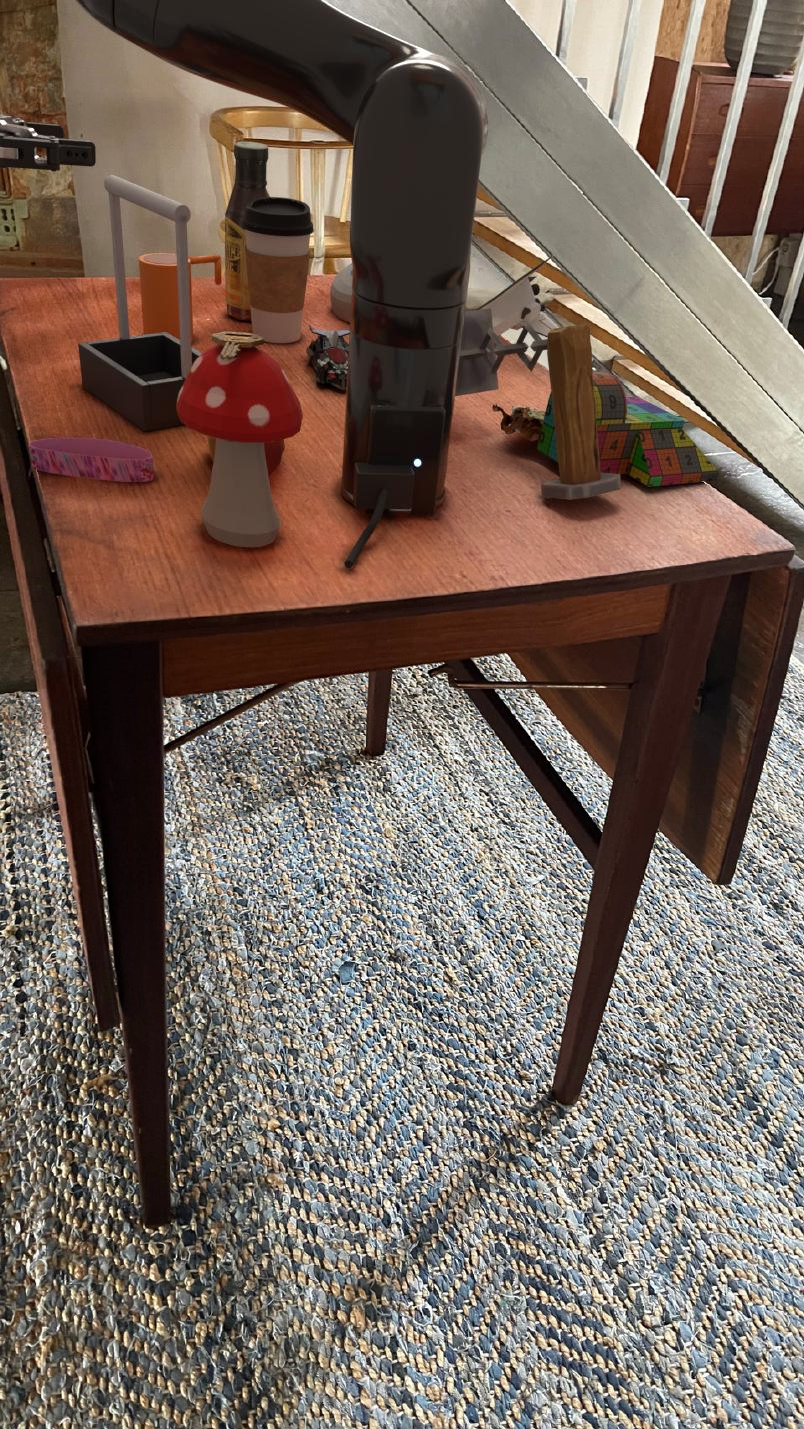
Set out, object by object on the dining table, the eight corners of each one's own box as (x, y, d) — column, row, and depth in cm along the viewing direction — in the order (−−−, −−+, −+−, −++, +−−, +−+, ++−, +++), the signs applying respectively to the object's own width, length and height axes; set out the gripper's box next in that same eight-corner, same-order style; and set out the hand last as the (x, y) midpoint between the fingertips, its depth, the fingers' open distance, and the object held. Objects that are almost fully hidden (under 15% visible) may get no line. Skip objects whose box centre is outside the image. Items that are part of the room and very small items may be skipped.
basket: (234, 415, 104) (231, 202, 92) (144, 431, 99) (129, 207, 87) (168, 373, 112) (158, 173, 101) (82, 386, 107) (60, 176, 95)
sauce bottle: (221, 309, 134) (218, 137, 122) (268, 309, 136) (270, 140, 124) (230, 324, 129) (228, 146, 117) (279, 324, 131) (281, 149, 119)
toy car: (353, 359, 122) (355, 324, 120) (370, 394, 113) (373, 356, 110) (302, 358, 121) (303, 322, 118) (316, 393, 111) (317, 355, 109)
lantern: (380, 492, 112) (572, 501, 89) (358, 328, 107) (557, 291, 83) (436, 480, 116) (634, 485, 92) (417, 321, 111) (623, 284, 87)
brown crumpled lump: (522, 388, 110) (539, 443, 112) (481, 409, 101) (500, 469, 102) (581, 367, 106) (598, 425, 108) (544, 387, 97) (563, 450, 99)
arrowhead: (376, 277, 143) (540, 272, 149) (375, 302, 145) (537, 296, 151) (401, 304, 134) (575, 297, 140) (400, 331, 136) (571, 323, 142)
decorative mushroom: (157, 532, 82) (145, 341, 73) (225, 497, 88) (222, 318, 79) (257, 571, 78) (258, 375, 69) (321, 532, 84) (329, 347, 75)
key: (200, 358, 68) (200, 352, 68) (214, 335, 75) (214, 330, 75) (257, 362, 69) (257, 356, 68) (265, 339, 76) (265, 334, 75)
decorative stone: (494, 289, 134) (489, 250, 130) (372, 338, 129) (364, 298, 125) (423, 259, 146) (417, 222, 143) (310, 302, 142) (301, 265, 138)
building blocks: (602, 490, 94) (627, 399, 89) (536, 450, 100) (556, 362, 96) (716, 480, 101) (745, 395, 96) (647, 443, 108) (671, 361, 103)
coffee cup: (315, 330, 130) (320, 201, 121) (304, 350, 123) (307, 214, 114) (250, 323, 130) (250, 193, 121) (235, 341, 123) (233, 206, 115)
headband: (40, 430, 91) (43, 454, 92) (23, 446, 88) (26, 470, 89) (160, 446, 91) (161, 469, 92) (147, 462, 88) (148, 486, 89)
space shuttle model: (457, 319, 114) (510, 393, 116) (564, 239, 127) (609, 306, 130) (383, 384, 126) (432, 450, 129) (487, 305, 140) (529, 365, 142)
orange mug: (158, 349, 119) (153, 266, 113) (135, 335, 122) (129, 254, 117) (234, 339, 124) (233, 260, 119) (210, 326, 128) (208, 248, 122)
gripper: (-72, 101, 90) (105, 116, 99) (-116, 75, 98) (50, 91, 107) (-63, 194, 94) (106, 201, 103) (-106, 162, 103) (53, 170, 112)
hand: (77, 145), depth 105 cm, fingers open, 8 cm apart
